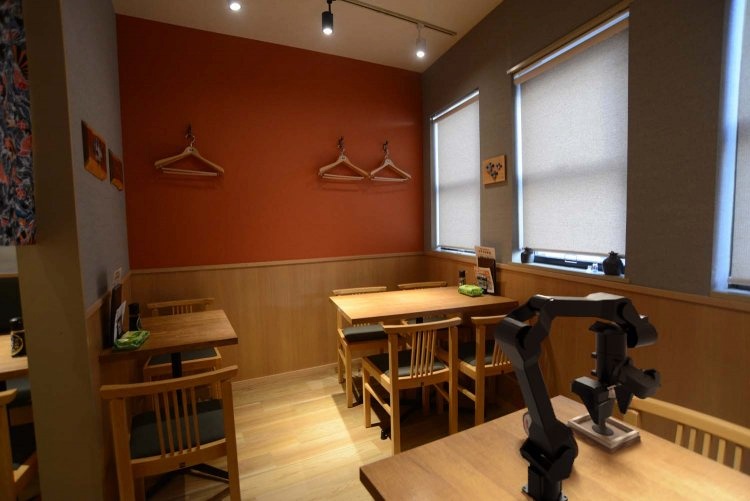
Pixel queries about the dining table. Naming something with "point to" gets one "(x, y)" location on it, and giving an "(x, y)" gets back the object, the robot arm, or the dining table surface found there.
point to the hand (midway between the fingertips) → (610, 418)
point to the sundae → (606, 415)
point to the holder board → (611, 443)
